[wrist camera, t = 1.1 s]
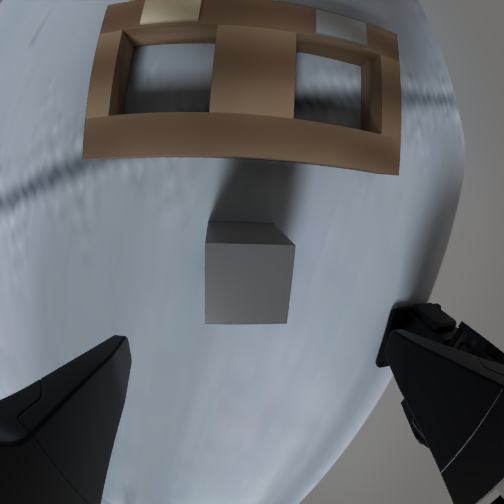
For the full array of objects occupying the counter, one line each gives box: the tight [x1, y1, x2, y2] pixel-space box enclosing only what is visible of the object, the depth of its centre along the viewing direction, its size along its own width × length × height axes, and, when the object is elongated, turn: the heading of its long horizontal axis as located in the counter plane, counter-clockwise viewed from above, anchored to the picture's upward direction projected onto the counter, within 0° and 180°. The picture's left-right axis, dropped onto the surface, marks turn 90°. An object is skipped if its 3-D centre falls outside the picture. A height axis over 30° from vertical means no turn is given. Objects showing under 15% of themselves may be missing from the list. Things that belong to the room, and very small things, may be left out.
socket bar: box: [82, 0, 401, 176], centre depth 15 cm, size 11×20×3 cm, turn 87°
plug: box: [205, 221, 296, 324], centre depth 17 cm, size 4×4×6 cm
